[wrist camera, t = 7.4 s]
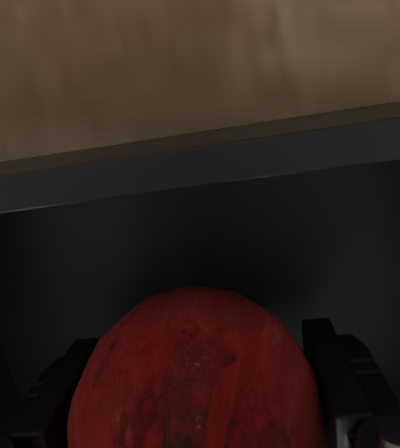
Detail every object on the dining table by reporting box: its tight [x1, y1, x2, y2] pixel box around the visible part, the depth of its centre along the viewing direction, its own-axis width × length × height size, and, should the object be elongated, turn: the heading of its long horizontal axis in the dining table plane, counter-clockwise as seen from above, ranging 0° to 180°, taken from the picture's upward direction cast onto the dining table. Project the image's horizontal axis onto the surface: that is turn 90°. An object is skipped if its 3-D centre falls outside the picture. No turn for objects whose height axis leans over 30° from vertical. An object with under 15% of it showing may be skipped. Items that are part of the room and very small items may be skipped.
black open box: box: [0, 101, 400, 431], centre depth 11 cm, size 16×12×5 cm
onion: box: [67, 285, 326, 448], centre depth 9 cm, size 6×6×8 cm
